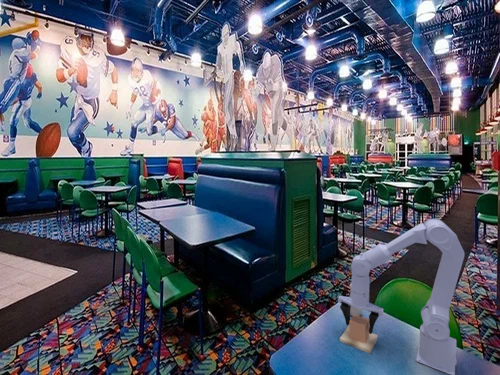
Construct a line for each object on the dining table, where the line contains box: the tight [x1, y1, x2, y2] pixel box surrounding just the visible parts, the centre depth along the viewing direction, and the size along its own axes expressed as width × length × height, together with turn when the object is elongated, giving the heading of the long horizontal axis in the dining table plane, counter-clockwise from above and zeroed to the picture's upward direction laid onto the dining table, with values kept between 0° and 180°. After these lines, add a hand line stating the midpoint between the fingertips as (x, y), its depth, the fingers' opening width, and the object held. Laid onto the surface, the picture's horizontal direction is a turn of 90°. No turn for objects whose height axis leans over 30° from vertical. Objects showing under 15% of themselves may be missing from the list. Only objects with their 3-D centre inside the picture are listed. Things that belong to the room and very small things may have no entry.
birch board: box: [339, 325, 379, 355], centre depth 91 cm, size 10×10×1 cm
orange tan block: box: [348, 314, 370, 344], centre depth 91 cm, size 5×5×6 cm
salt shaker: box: [348, 283, 363, 317], centre depth 106 cm, size 6×6×13 cm
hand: (359, 328), depth 91 cm, fingers open, 7 cm apart
